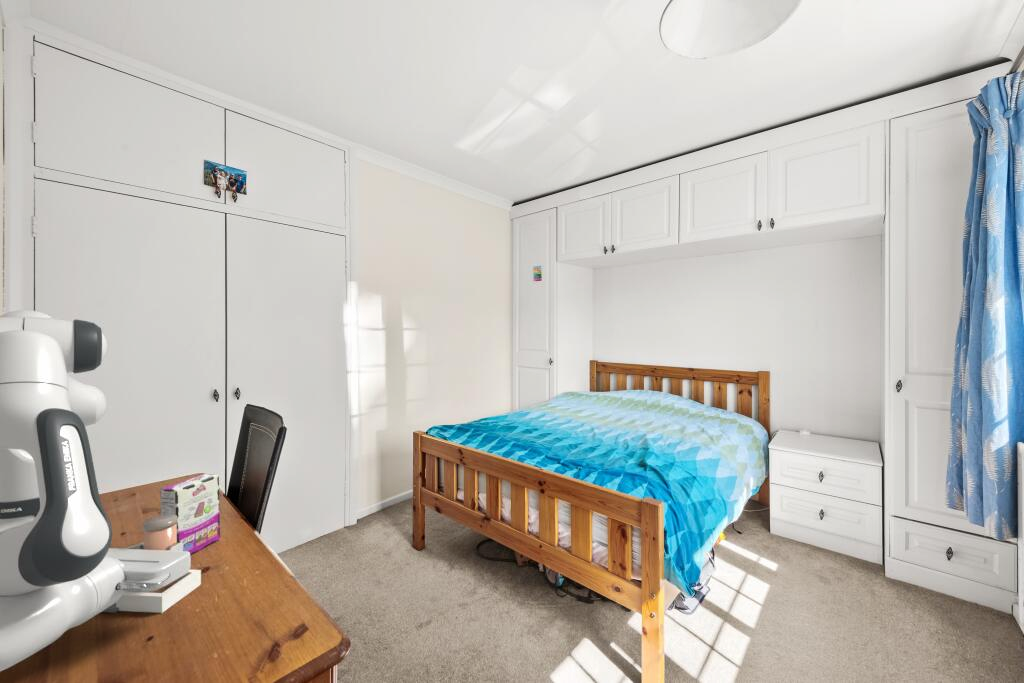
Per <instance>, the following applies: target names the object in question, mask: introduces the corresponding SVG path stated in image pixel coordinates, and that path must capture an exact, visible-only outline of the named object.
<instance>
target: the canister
mask: <svg viewBox="0 0 1024 683" xmlns="http://www.w3.org/2000/svg"><path fill="white" fill-rule="evenodd" d="M142 530H143V534H142V536H143V537H142V538H143V541H142V542H143V550H169V546H170V545H172V544H173V543H177V515H161V514H160V515H157V516H154V517H151V518H149V519H146V520H145V521H143V522H142ZM176 583H177V580H175V581H173V582H171V583H170V584H168V585H166V586H164V587H162V588H160V589H157V590H154V591H149V592H147V593H163V592H164V591H166V590H167V589H169V588H170V587H172V586H173V585H175V584H176Z"/></svg>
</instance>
